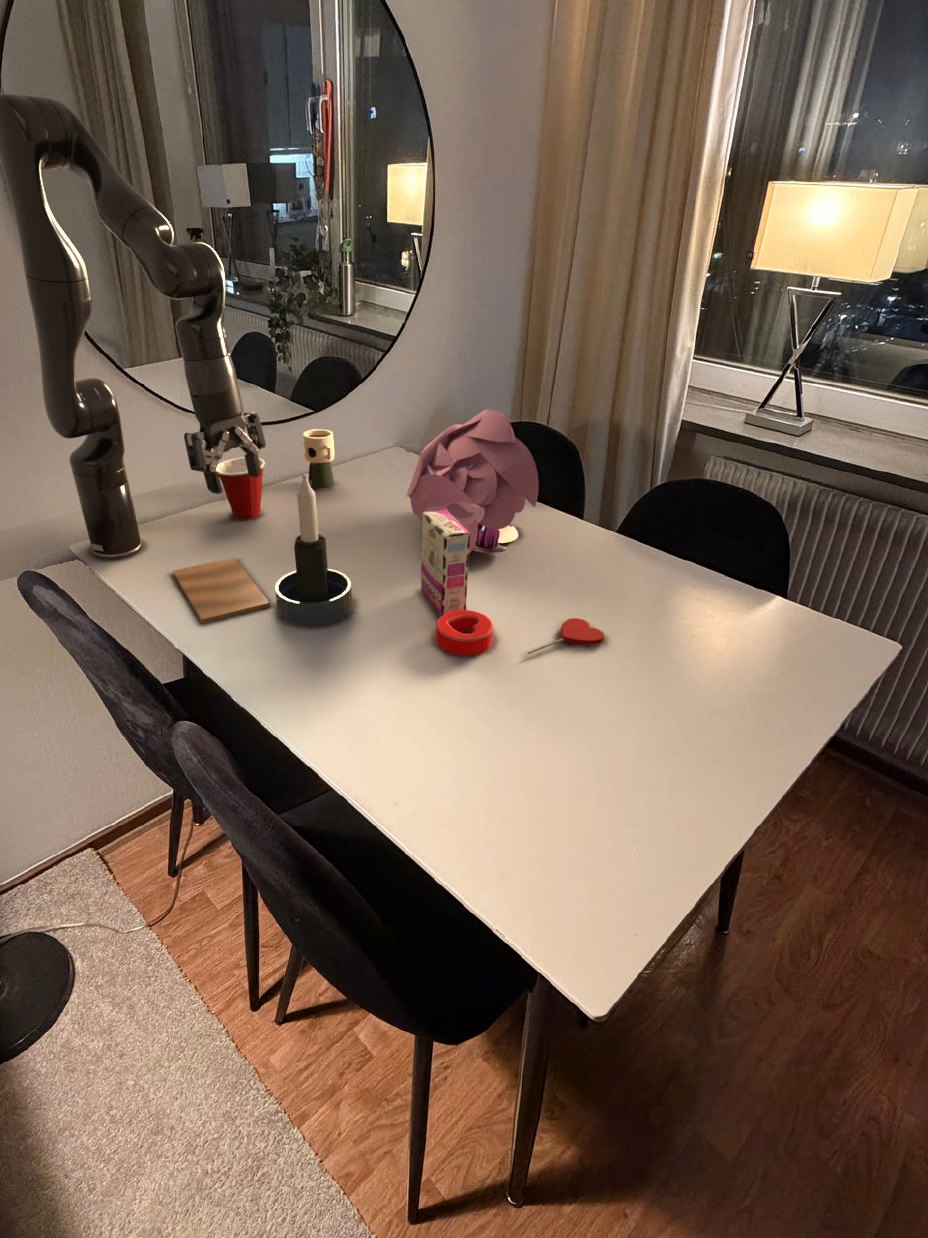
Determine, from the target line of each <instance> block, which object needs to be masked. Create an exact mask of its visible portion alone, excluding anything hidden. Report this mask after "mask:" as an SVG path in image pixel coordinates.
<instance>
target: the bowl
mask: <svg viewBox="0 0 928 1238" xmlns="http://www.w3.org/2000/svg"><path fill="white" fill-rule="evenodd" d="M328 581H329V596H330V600H327V601H323V602H313V603H307V602H299V595H298V584H297V573H296V570H294V571H290V572H289V573H287V574H284V575H283V576H282V577H280V578H279V579H278V580H277V581H276V583H275V585H274V591H275V600H276V610H277V613H278V615H279V617H281V618H282V619H284V620H285V621H287V622H289V623H291V624H295V625H299V626H311V627H312V626H321V625H322V626H323V625H327V624H331V623H334V622H337V621H338V620H341V619H342V618H345V617H346V616H347V615H348V614H349V613H350V612H351V609H352V607H353V592H352V591H353V589H352V582H351V579H350V578H349V577H348V575H346V573H343V572H341V571H339V570H337V569H336V570H335V569H331V568H328Z"/></svg>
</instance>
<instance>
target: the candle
mask: <svg viewBox="0 0 928 1238" xmlns="http://www.w3.org/2000/svg"><path fill="white" fill-rule="evenodd" d="M301 478H302V481H301V483H300V484H301V485H300V487H299V489H298V491H297V493H296V496H297V508H298V519H299V531H300V535H297V536H296V538H295V541H294V544H293V548H294V550H293V551H294V560H295V571H296V573H297V584H298V595H299V602H307V603H313V602H323V601H327V600H330V596H329V581H328V569H329V568H328V557H327V556H328V555H327V553H328V551H327V539H326V537H325V536H323V535H322V534H320V533H319V528H318V526H319V525H318V515H317V500H316V492H315V491H314V489H313V488H312V486H311V484H310V481H309V479H308V474H307V473H303V474H302V475H301Z"/></svg>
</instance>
